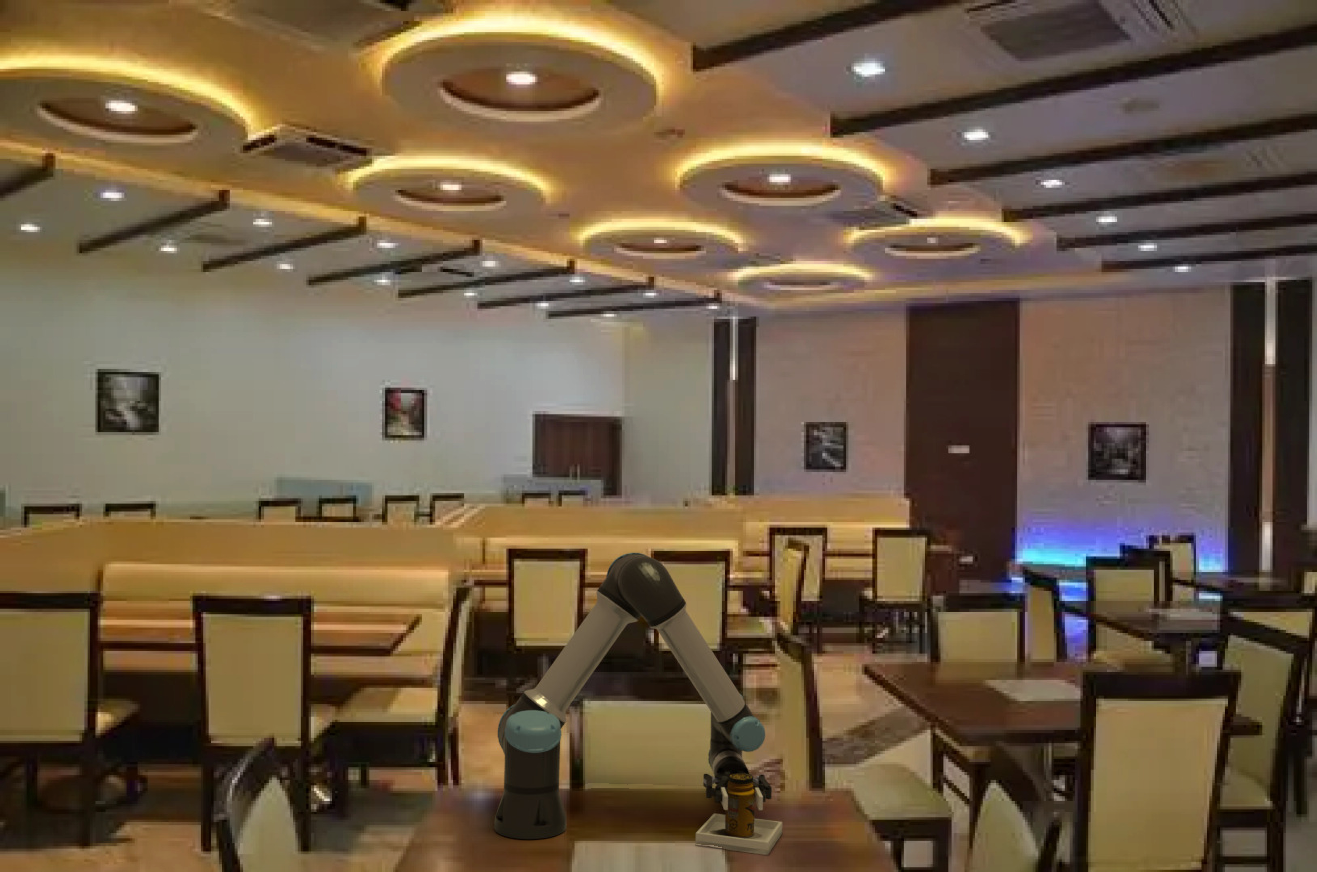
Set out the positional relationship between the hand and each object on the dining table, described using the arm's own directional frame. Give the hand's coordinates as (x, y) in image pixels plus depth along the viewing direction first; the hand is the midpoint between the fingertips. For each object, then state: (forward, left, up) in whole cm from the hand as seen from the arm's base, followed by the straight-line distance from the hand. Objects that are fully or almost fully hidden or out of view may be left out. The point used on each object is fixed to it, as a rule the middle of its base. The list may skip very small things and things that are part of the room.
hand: (743, 803), depth 224 cm
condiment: (-3, +4, -8) cm, 10 cm away
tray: (-2, +5, -9) cm, 10 cm away
